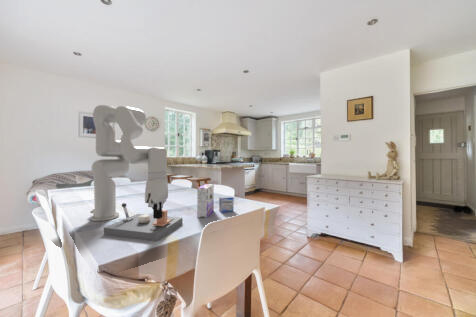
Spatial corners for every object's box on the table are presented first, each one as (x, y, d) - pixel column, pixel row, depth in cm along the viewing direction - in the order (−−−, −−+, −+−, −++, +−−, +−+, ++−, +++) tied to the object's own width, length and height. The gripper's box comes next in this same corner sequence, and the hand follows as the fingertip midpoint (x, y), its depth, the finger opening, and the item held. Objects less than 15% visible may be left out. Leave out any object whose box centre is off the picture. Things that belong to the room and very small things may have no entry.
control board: (103, 234, 83) (103, 226, 83) (138, 219, 103) (138, 212, 103) (156, 241, 77) (156, 231, 77) (182, 223, 97) (182, 216, 97)
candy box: (204, 210, 120) (204, 183, 120) (213, 210, 120) (214, 184, 119) (197, 217, 107) (197, 187, 106) (207, 217, 106) (207, 187, 106)
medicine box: (221, 213, 115) (221, 198, 115) (219, 210, 119) (219, 196, 119) (233, 211, 118) (233, 197, 118) (231, 209, 122) (231, 195, 122)
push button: (135, 222, 88) (135, 217, 88) (143, 219, 93) (143, 214, 93) (145, 223, 87) (145, 218, 87) (152, 220, 92) (152, 215, 92)
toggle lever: (124, 219, 92) (120, 204, 92) (127, 217, 94) (123, 203, 94) (127, 218, 91) (123, 203, 92) (131, 216, 93) (126, 202, 94)
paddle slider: (152, 225, 85) (152, 212, 85) (161, 220, 91) (161, 208, 90) (162, 226, 84) (162, 212, 83) (170, 221, 89) (170, 209, 89)
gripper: (160, 173, 92) (160, 212, 92) (137, 177, 77) (137, 223, 78) (174, 174, 90) (175, 213, 90) (153, 178, 76) (153, 224, 76)
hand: (157, 217), depth 84 cm, fingers closed
